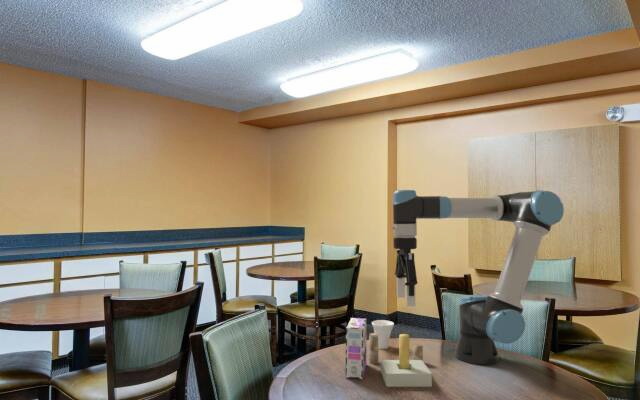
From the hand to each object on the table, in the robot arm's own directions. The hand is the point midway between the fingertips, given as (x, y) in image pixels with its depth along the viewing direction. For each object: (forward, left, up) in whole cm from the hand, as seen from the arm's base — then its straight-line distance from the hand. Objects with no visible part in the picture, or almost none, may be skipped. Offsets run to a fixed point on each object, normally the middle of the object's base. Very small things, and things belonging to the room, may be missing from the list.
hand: (405, 301), depth 136 cm
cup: (+3, -31, -25) cm, 40 cm away
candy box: (+16, -5, -25) cm, 30 cm away
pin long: (+1, +1, -25) cm, 25 cm away
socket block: (+1, +1, -25) cm, 25 cm away
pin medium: (+9, -14, -25) cm, 30 cm away
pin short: (-7, -14, -25) cm, 29 cm away
